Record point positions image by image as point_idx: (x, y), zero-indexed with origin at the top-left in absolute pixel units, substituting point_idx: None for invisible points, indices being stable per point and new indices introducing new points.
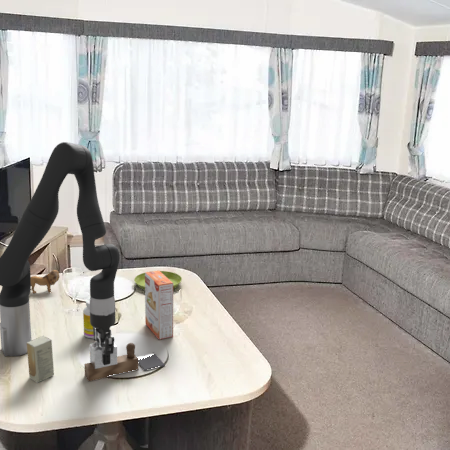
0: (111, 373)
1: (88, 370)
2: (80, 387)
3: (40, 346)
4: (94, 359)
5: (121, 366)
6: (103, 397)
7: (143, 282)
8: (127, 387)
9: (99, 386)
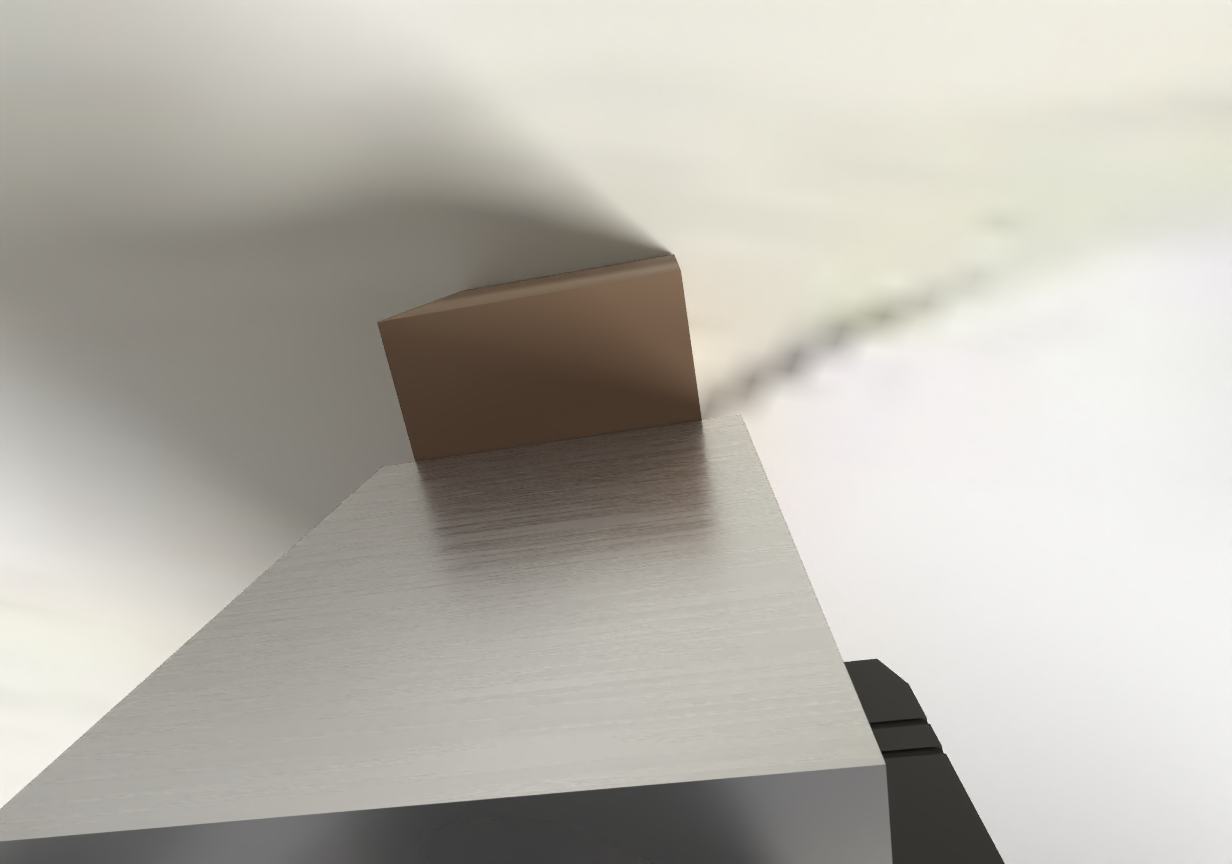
0: None
1: (382, 322)
2: (308, 133)
3: None
4: (308, 566)
5: None
6: (3, 429)
7: None
8: None
9: (295, 425)
